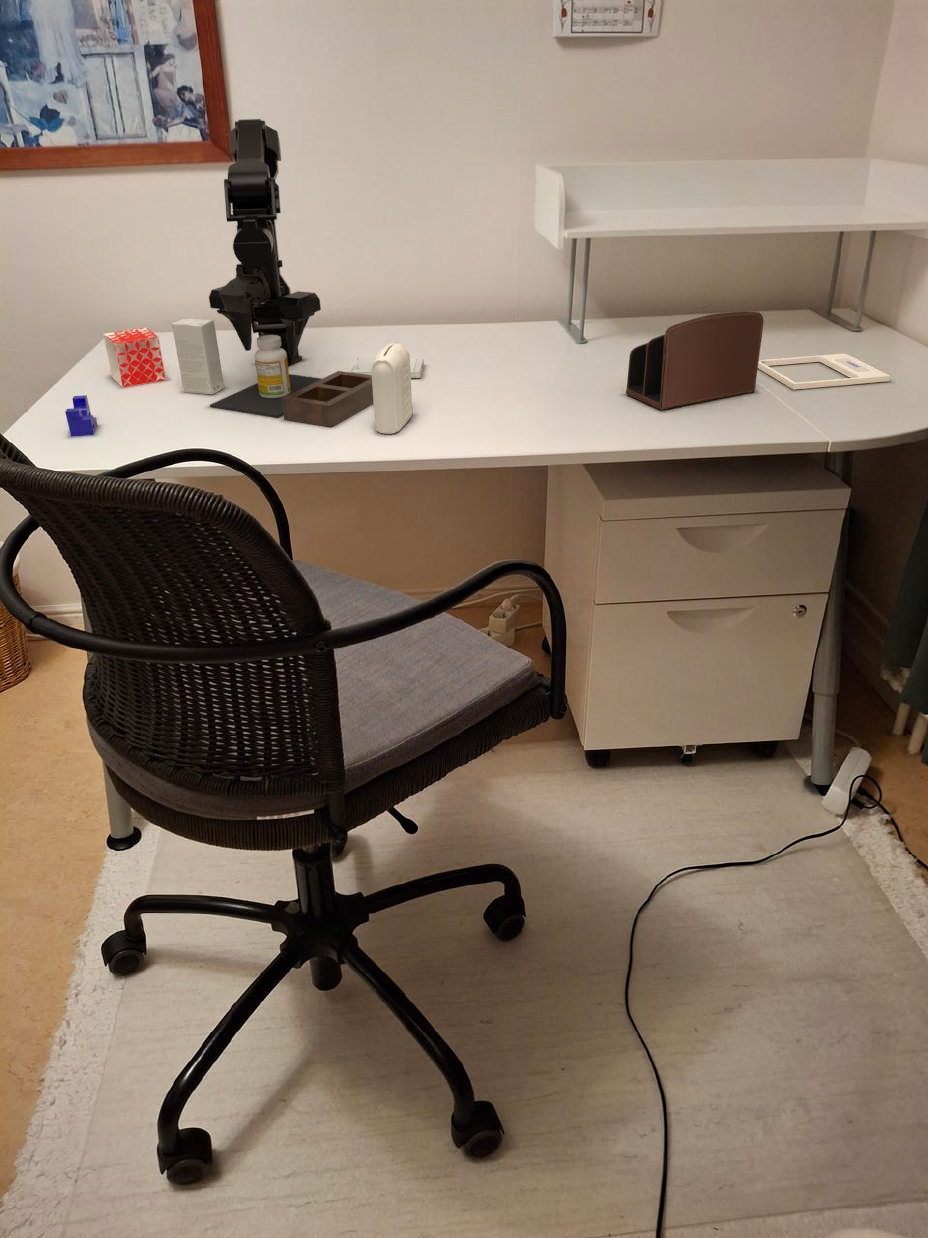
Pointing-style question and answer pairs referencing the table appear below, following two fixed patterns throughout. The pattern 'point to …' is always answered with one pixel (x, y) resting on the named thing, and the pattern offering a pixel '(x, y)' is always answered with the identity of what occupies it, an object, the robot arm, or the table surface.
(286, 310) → the robot arm
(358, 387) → the bottle holder
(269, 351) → the supplement bottle
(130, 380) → the puzzle cube
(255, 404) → the desk mat
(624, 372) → the table surface
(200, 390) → the cosmetic box
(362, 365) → the hard drive
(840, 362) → the photo frame
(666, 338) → the letter holder
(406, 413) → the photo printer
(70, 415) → the cable holder
